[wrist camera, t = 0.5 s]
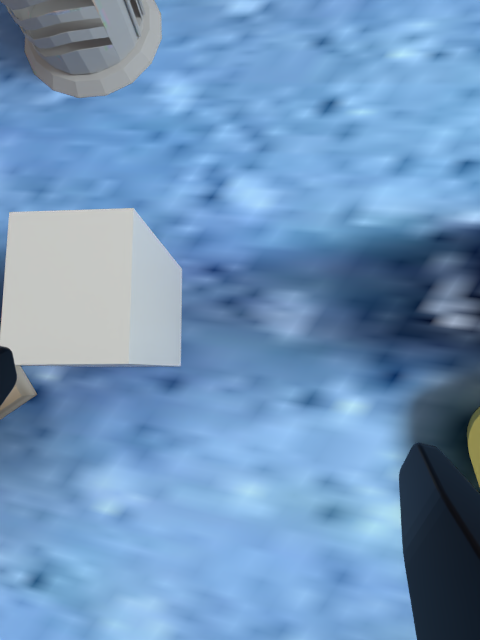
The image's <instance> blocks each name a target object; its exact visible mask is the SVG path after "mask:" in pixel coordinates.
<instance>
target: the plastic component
mask: <svg viewBox="0 0 480 640" xmlns="http://www.w3.org/2000/svg"><path fill="white" fill-rule="evenodd" d="M467 441H468V450H469V455H470V458H471V462H472V465H473V468H474V471H475V474H476V477H477V481H478V484H479V487H480V407H479V408H478V409H477V410H476V411H475V412H474V414H473V415H472V417H471V419H470V422H469V424H468V428H467Z"/></svg>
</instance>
